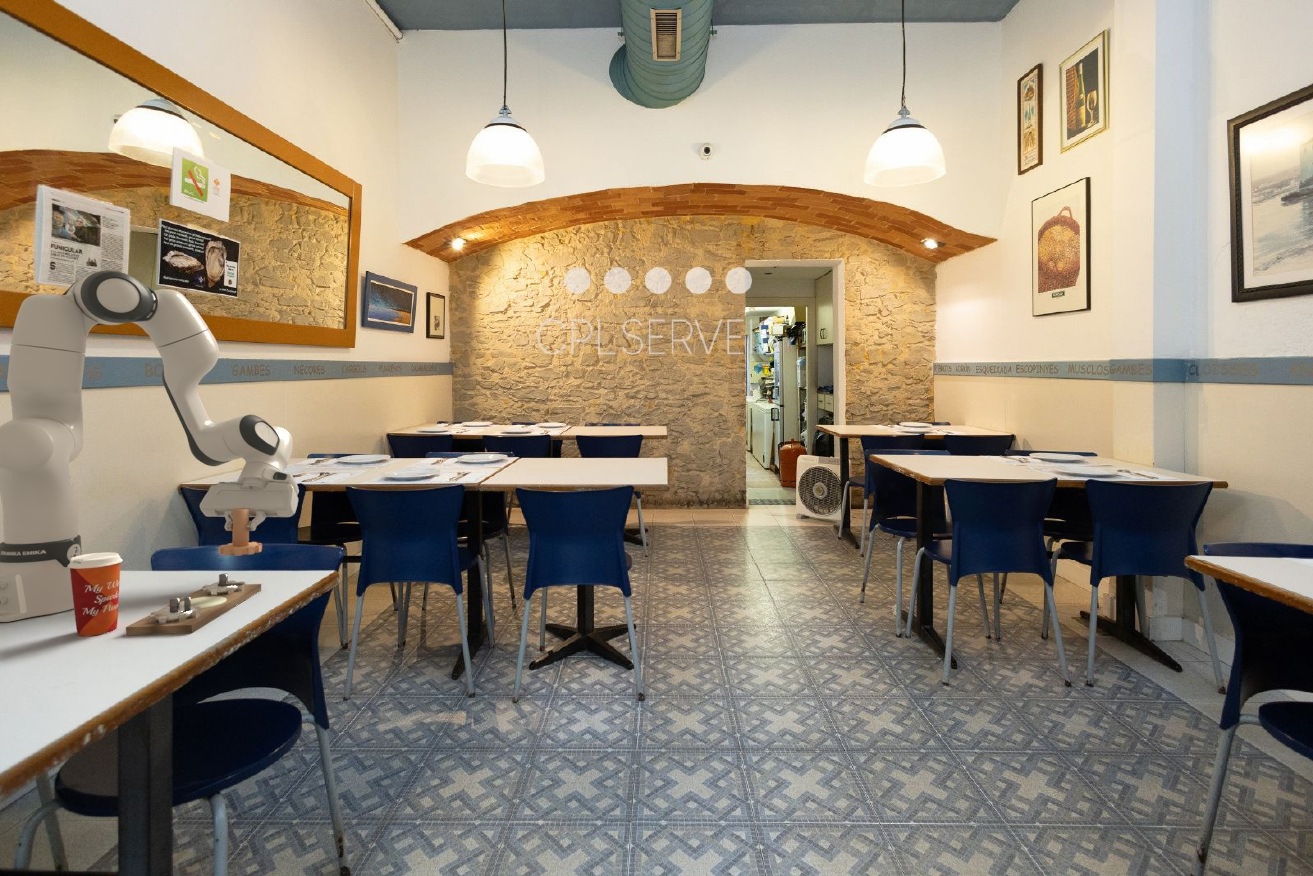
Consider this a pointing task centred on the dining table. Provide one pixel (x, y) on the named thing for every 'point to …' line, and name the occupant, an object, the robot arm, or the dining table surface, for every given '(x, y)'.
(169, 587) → the dining table surface
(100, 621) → the paper cup
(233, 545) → the idler gear
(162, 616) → the gear
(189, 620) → the gear board
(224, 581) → the gear
